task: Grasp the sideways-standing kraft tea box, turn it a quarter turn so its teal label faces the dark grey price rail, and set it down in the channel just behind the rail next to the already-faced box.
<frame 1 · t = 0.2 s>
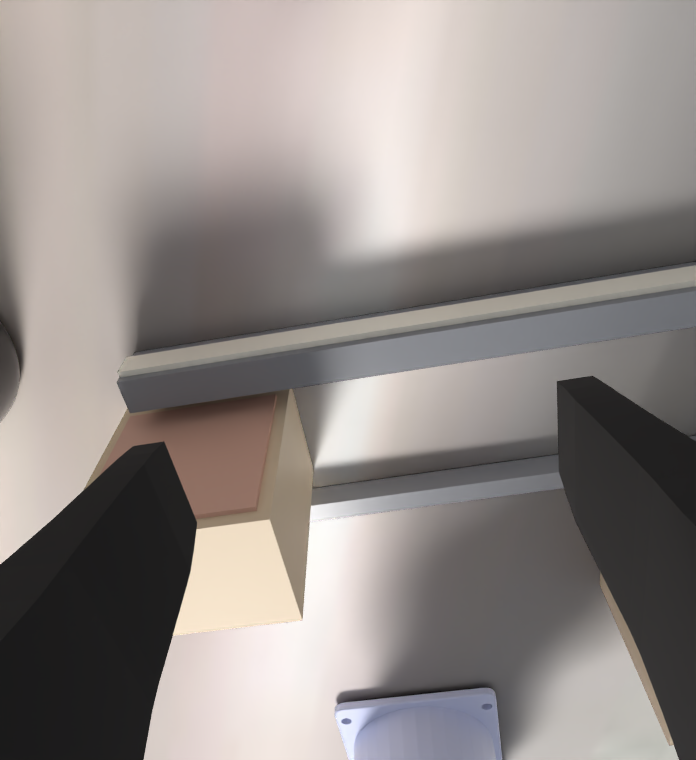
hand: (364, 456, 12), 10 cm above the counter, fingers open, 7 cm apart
price rail: (517, 307, 21), on the counter
faced tea box: (224, 438, 24), on the counter
kraft tea box: (651, 528, 26), on the counter
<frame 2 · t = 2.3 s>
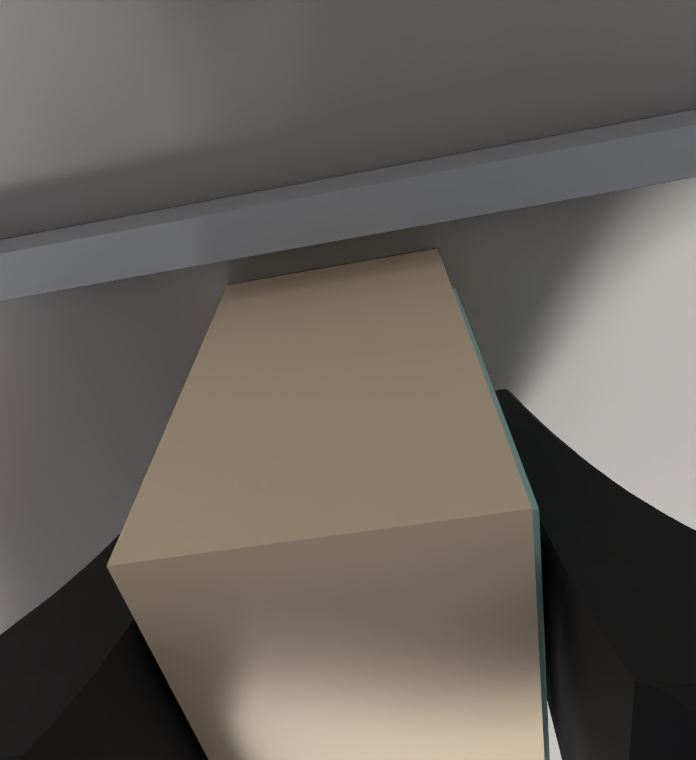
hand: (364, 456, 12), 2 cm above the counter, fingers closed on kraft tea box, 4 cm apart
kraft tea box: (358, 400, 13), on the counter, touching gripper
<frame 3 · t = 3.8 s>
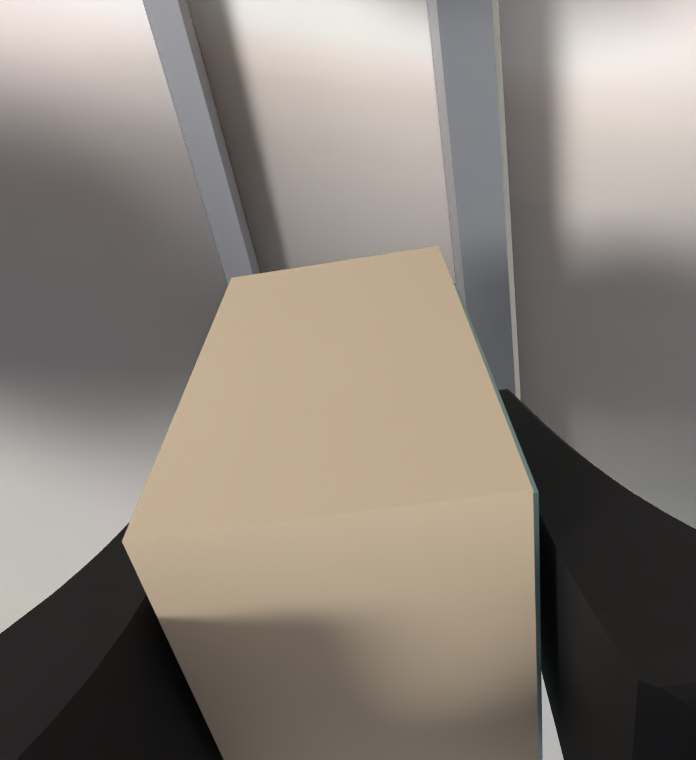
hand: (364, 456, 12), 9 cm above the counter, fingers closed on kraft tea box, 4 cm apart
price rail: (471, 224, 19), on the counter
kraft tea box: (357, 394, 14), point 7 cm above the counter, touching gripper
when the fingers open (3 cm above the counter, at t = 5.2 s): kraft tea box drops 1 cm, on the counter.
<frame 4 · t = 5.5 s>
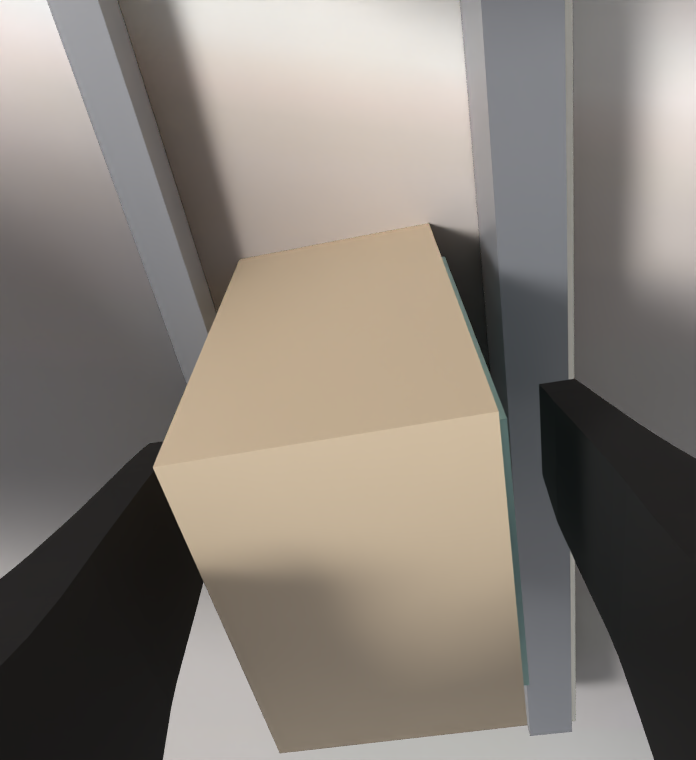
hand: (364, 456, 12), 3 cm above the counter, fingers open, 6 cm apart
price rail: (512, 300, 14), on the counter
kraft tea box: (359, 365, 15), on the counter
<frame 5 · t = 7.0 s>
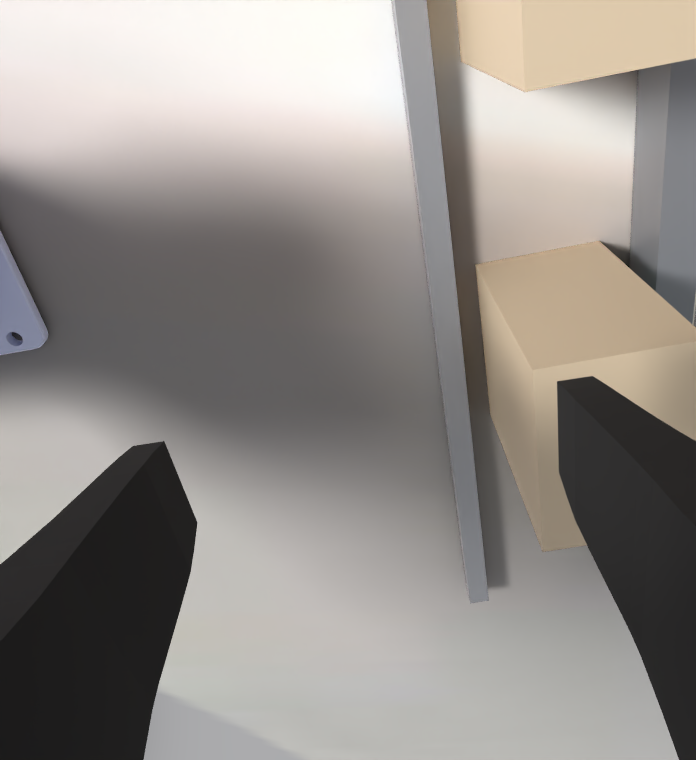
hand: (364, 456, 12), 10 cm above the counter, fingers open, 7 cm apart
price rail: (646, 289, 21), on the counter
kraft tea box: (540, 333, 22), on the counter
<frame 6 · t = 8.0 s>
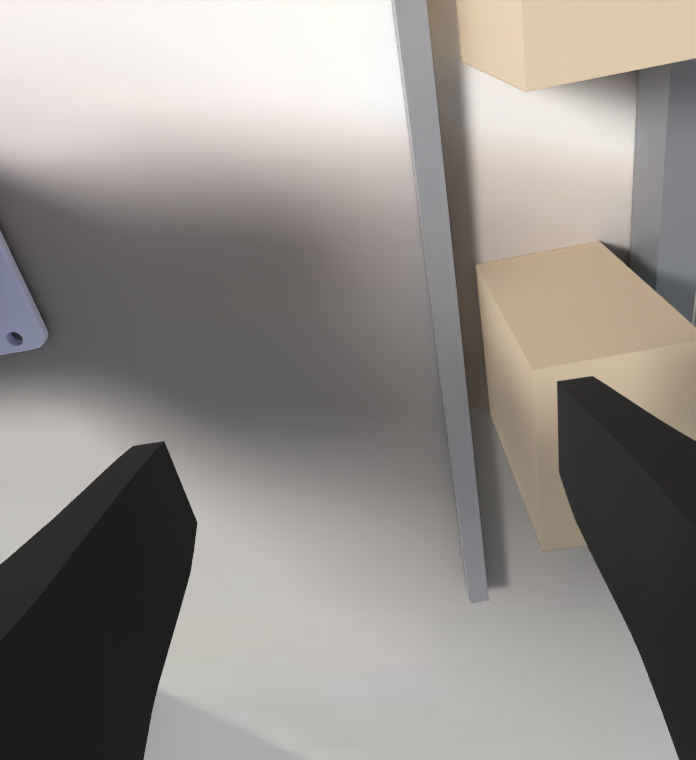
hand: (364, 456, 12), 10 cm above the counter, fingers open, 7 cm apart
price rail: (646, 289, 21), on the counter
kraft tea box: (540, 333, 22), on the counter
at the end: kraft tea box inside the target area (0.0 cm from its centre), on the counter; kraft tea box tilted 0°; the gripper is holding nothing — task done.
